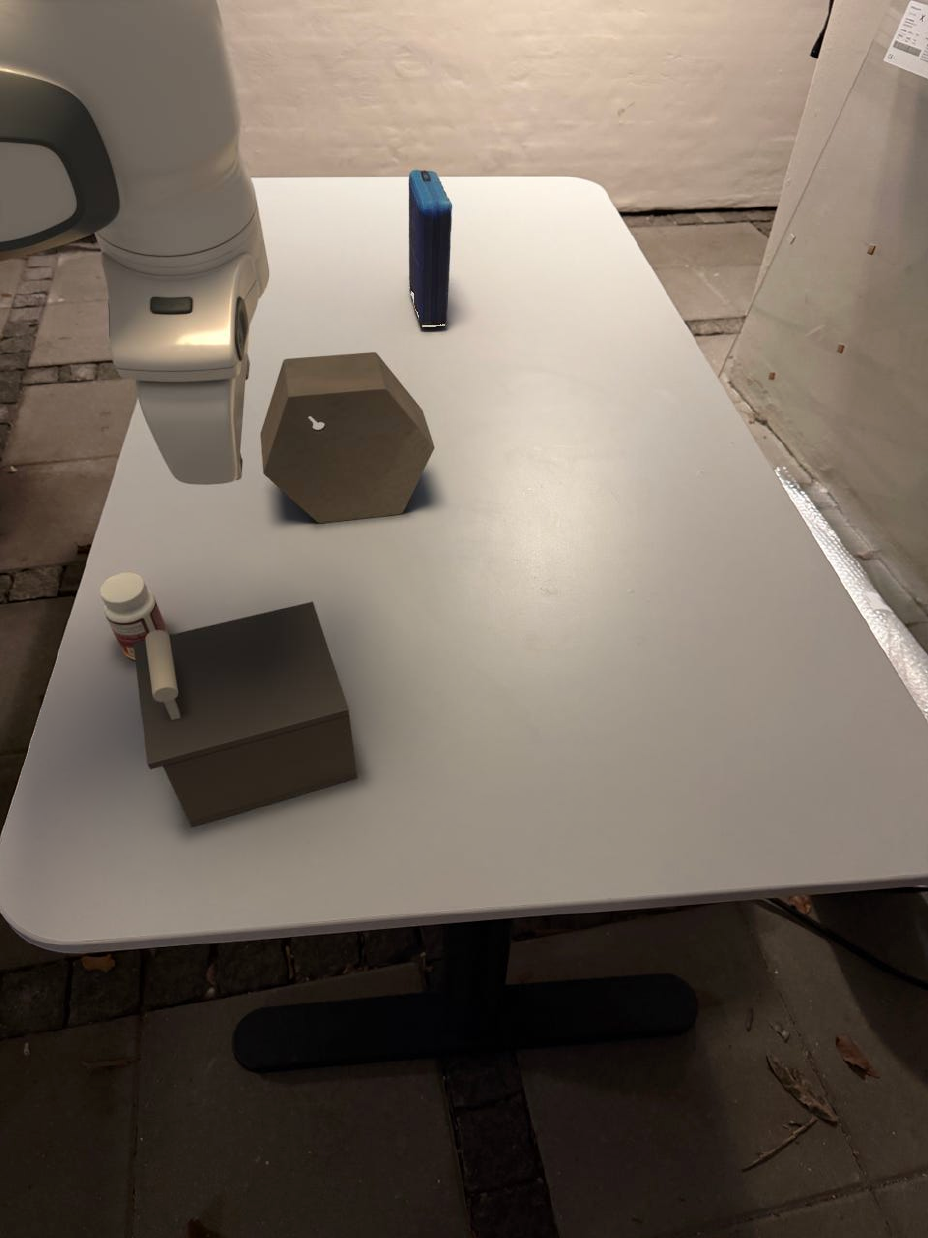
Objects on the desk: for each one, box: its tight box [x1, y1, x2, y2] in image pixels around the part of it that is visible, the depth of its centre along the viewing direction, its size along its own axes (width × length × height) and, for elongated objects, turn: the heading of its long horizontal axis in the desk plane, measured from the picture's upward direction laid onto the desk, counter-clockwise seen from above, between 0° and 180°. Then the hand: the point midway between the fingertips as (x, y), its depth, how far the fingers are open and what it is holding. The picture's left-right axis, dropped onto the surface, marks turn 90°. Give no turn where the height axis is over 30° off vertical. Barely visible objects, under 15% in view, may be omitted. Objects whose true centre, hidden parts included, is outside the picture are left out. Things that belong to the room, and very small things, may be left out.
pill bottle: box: [99, 572, 169, 661], centre depth 76 cm, size 5×5×8 cm
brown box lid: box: [133, 601, 350, 770], centre depth 63 cm, size 16×13×5 cm
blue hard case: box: [408, 169, 453, 329], centre depth 122 cm, size 14×5×20 cm, turn 11°
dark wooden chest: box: [162, 714, 358, 828], centre depth 68 cm, size 15×13×10 cm
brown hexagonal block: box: [259, 351, 435, 524], centre depth 90 cm, size 17×8×21 cm
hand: (234, 421), depth 56 cm, fingers open, 8 cm apart
